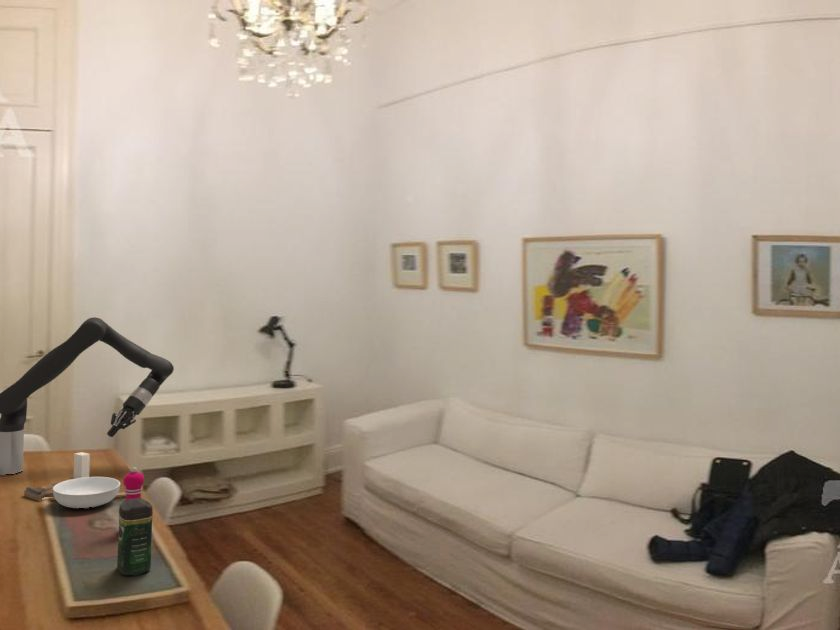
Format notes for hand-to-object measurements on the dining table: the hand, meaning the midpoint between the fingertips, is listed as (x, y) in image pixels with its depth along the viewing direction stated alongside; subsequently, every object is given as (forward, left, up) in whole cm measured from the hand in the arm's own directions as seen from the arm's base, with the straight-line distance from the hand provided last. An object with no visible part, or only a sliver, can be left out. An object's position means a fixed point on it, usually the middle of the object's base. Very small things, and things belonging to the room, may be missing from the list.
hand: (109, 435), depth 249 cm
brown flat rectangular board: (-9, -15, -18) cm, 25 cm away
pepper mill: (+33, -50, -18) cm, 63 cm away
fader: (-6, -9, -15) cm, 19 cm away
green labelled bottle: (+46, -77, -18) cm, 92 cm away
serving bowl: (+7, -28, -18) cm, 34 cm away
